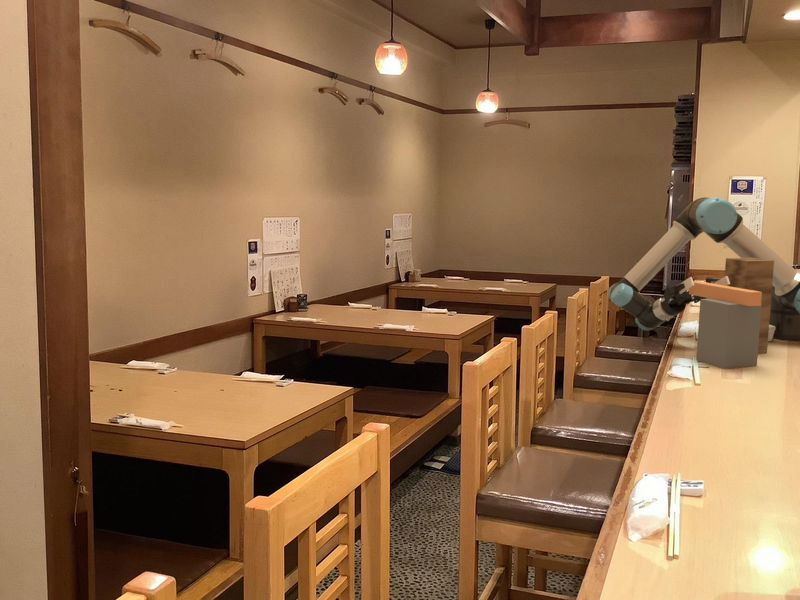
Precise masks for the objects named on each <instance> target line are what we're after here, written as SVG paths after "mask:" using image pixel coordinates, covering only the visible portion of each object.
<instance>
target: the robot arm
mask: <svg viewBox="0 0 800 600" xmlns="http://www.w3.org/2000/svg"><path fill="white" fill-rule="evenodd" d="M703 233H704V234H706V236H708V237H709V238H710V239H712V240H713V241H714V242H715V243H717V244H724V245H725V246H726V247H728V248H729V249H730V250H731V251H732V252H733V253H735V254H736V255H737V256H738V258H757V259H766V260H774V269H773V282H772V294H771V307H770V320H769V325H772V326H775V327H776V329H775V331H774V335H773V338H772V339H775V338H777V339H778V340H784V339H785V340H787V341H800V268H797V269H795V268H794V267H793V266H792V265H790V264H789V263H788V261H786V260H784V258H782V257H781V256H780V255H779V254H778V253H777V252H775V250H773V249H772V248H771V247H770V246H769V245H768V244H767V243H765V242H764V241H763V240H762V239H761V238H760V237H758V235H756V234H755V233H754V232H753V231H751V230H750V228H748V227H747V226H746V225H745V224H744V218H743V216H742V215H741V214H740V213H738V212H737V210H736V207H735V205H734V204H733V203H731V202H730V201H729V200H727V199H725V198H722V197H716V196H715V197H700V198H696V199H695V200H693V201H691V202H690V203H689V204H688V205H687V206H686V207H685V209H683V210H682V211H681V213H680V214H679V215H678V216H677V217H675V219H674V220H673V221H672V226H671V228H669V229H668V231H667V232H666V233H665V234H664V235H663V236H662V237H661V238H660V239H659V240H658V241H656V243H655V244H654V245H653V246H652V247H651V249H649V250H648V251H647V253H645V254H644V256H642V258H641V259H640V260H639V261H638V262H637V263H636V264H635V265H634V266H633V267H632V268H631V269H629V271H628V272H627V273H626V274H625V275H624V276H623V277H622V278H621V279H620V281H618V282H616V283H614V284H612V285H611V286H610V287H609V289H608V297H609V299H610V301H611V302H612V303H613V304H614V305H616V306H617V307H619V308H621V309H622V310H623V311H626V313H628V314H630V315H631V316H633V317H635V324H637V326H638V328H640V329H641V330H643V331H651V330H653V329H657V328H658V327H659V326H660V325H662V324H663V323H665V322H669V321H670V320H671V319H672V318H674V317H676V316H678V315H679V314H681V313H683V312H684V311H685V310H686V307H687V305H689V304H690V303H694V304H697V303H700V299H706V298H705V297H700V296H695V295H690V294H689V288H691V287H692V286H694V282H695V281H694V279H693V277H692V276H690V277H688V278H686V279H685V280H683V281H682V282H680V283H679V284H677V285H673V286H672V287H671V286H667V287H666V289H665V290H664V293H663V295H662V296H660V298H658V299H656V300H655V301H654V302H652V301H651V300H649V299H648V298H646V297H645V296H644V295H642V294H641V293H639V292H640V291H641V290H643V288H644V287H645V286H646V285H647V284H648V283H649V282H650V281H651V280H652V279H653V278H654V277H655V276H656V275H657V274H659V272H660V271H661V270H662V269H663V268H664V267H665V266H666V265H667V264H668V262H669V261H671V260H672V259H673V257H674V256H675V255H677V254H678V253H679V251H681V249H683V247H684V246H685V245H686V244H688V243H689V242H690V241H693V240H695V239H696V238H697V237H699V235H700V234H703ZM721 278H722V279H720V280H718V281H717V282H715V283H714V284H718V285H724V286H728V285H729V284H730V282H729V279H728V276H725V275H724V277H721ZM777 339H776V340H777Z"/></svg>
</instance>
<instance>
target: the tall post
mask: <svg viewBox="0 0 800 600" xmlns="http://www.w3.org/2000/svg"><path fill="white" fill-rule="evenodd" d="M773 269H774V260H766V259H757V258H741V257H735V258H734V257H729V258H728V257H727V258H725V268H724V277H725V276H728V279H729V282H730V284H729V285H728V286H730V287H736V288H742V289H748V290H754V291H760V292H762V299H761V303H762V306H761V319H760V331H759V344H758V355H761V354H767V353H768V343H769V342H768V332H769V320H770V307H771V294H772V282H773Z"/></svg>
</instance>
